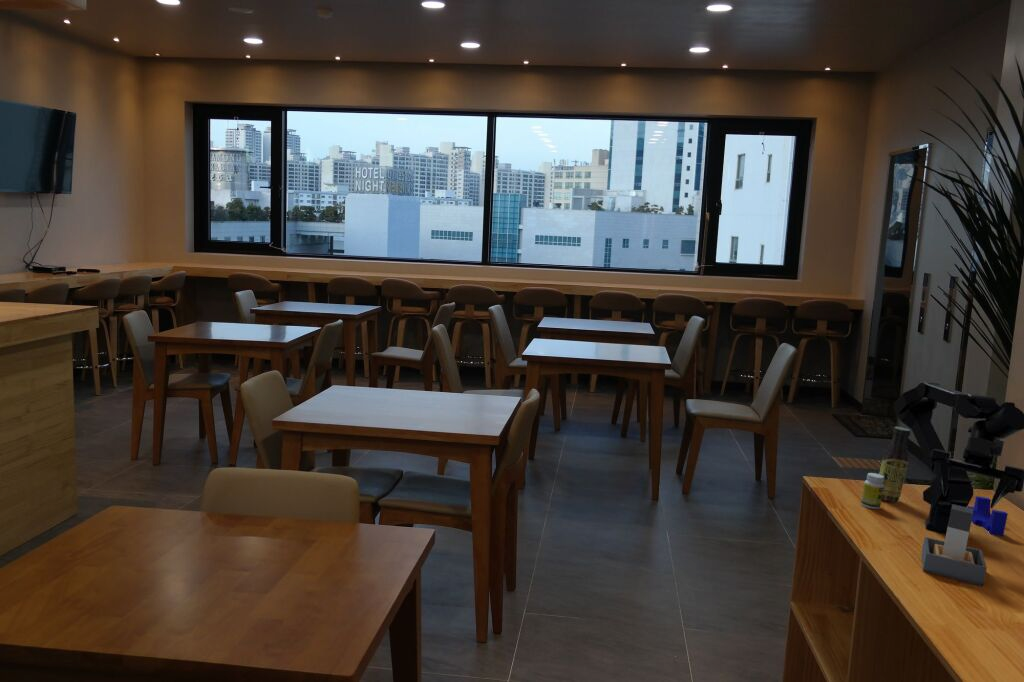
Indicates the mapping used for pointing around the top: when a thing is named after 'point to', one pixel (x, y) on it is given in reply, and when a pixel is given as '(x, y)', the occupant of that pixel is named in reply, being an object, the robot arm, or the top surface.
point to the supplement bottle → (873, 491)
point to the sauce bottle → (895, 465)
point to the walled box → (953, 563)
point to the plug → (957, 532)
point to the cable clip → (988, 516)
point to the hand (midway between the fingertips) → (967, 501)
